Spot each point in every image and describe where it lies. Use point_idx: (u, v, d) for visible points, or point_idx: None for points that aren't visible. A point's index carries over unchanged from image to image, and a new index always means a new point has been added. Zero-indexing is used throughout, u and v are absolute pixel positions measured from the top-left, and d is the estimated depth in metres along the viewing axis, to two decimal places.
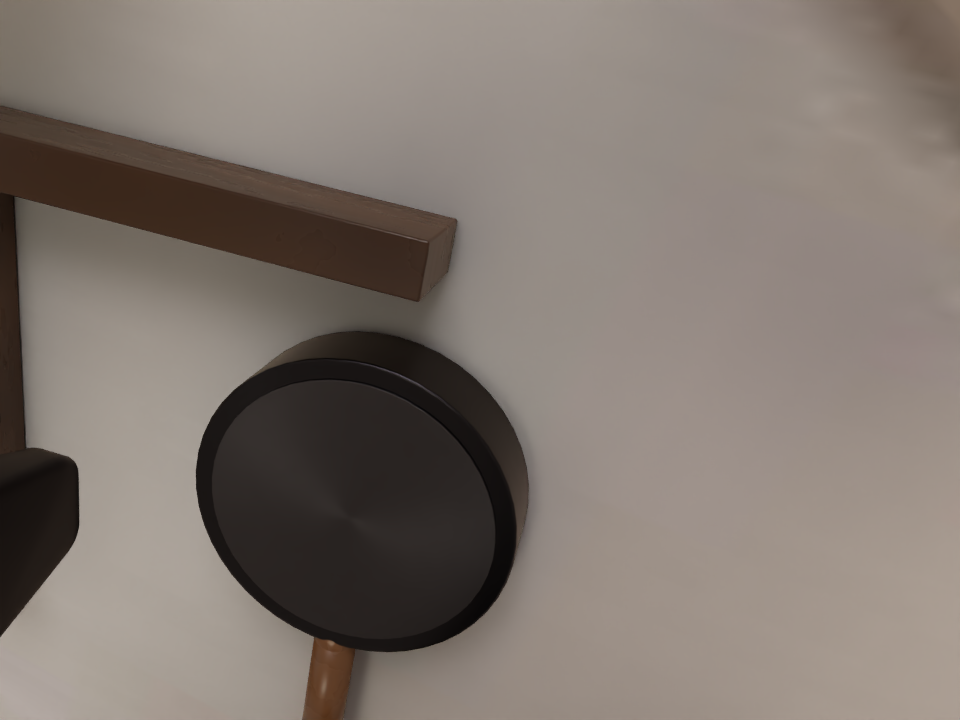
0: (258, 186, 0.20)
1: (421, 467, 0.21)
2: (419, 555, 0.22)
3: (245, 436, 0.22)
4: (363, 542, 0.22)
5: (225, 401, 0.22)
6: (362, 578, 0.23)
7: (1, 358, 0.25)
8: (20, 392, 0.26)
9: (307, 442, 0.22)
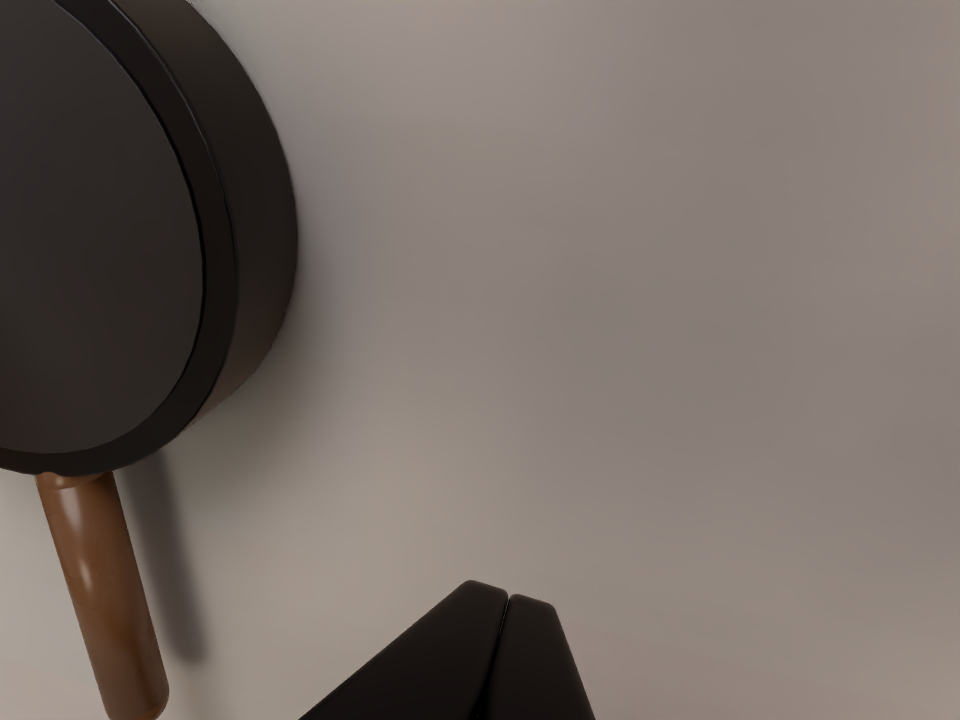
0: None
1: (23, 81, 0.12)
2: (96, 261, 0.13)
3: None
4: (10, 269, 0.13)
5: None
6: (42, 341, 0.14)
7: None
8: None
9: None
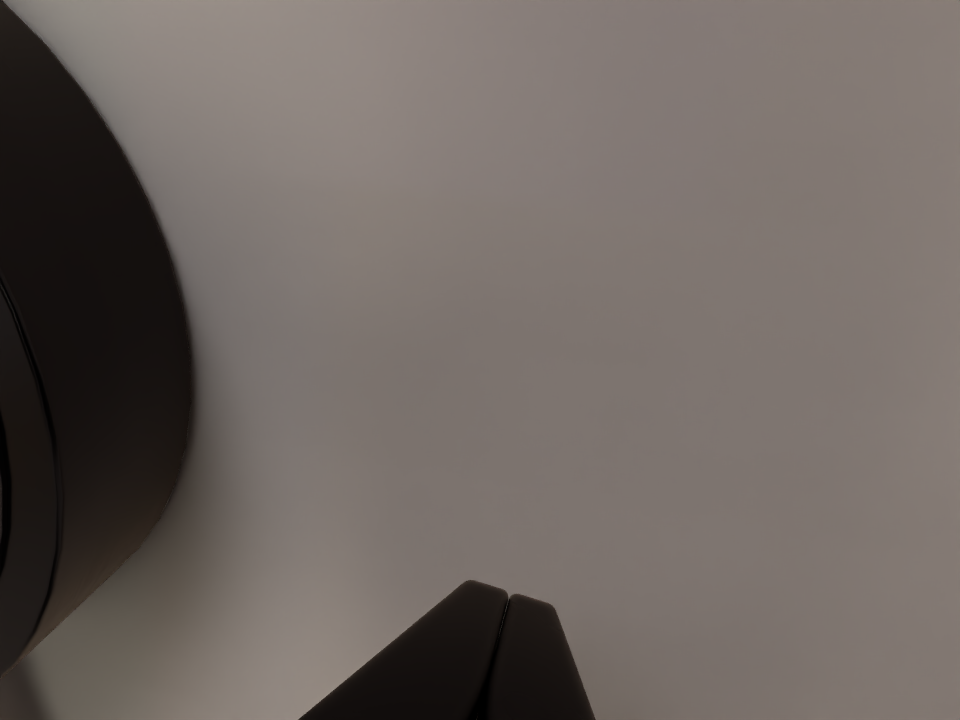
0: None
1: None
2: None
3: None
4: None
5: None
6: None
7: None
8: None
9: None
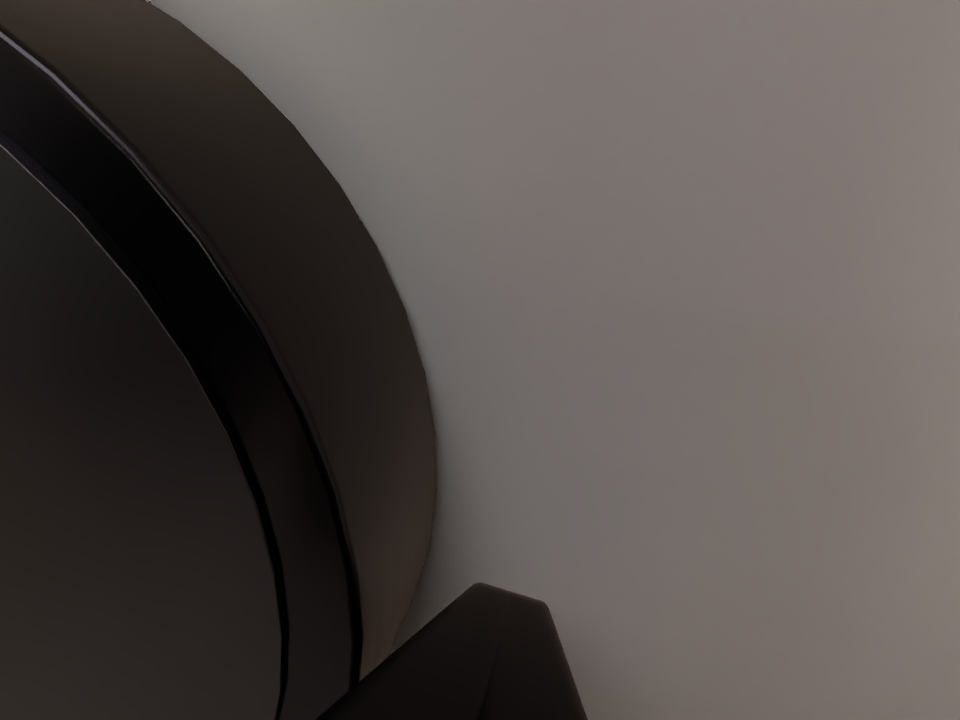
0: None
1: None
2: (55, 612, 0.06)
3: None
4: None
5: None
6: None
7: None
8: None
9: None
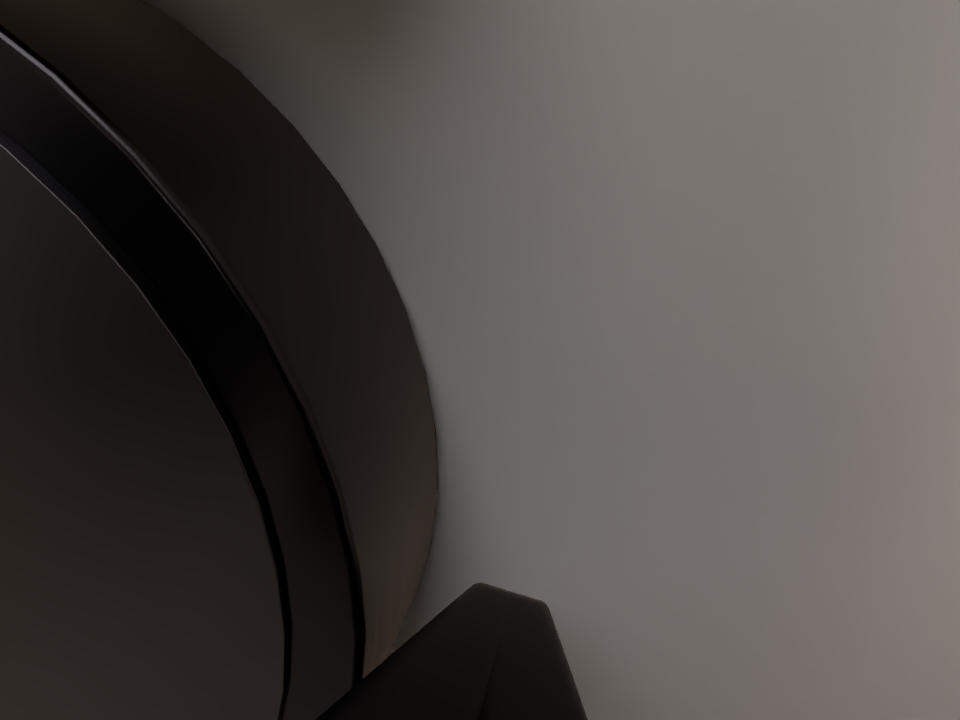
0: None
1: None
2: (59, 613, 0.06)
3: None
4: None
5: None
6: None
7: None
8: None
9: None
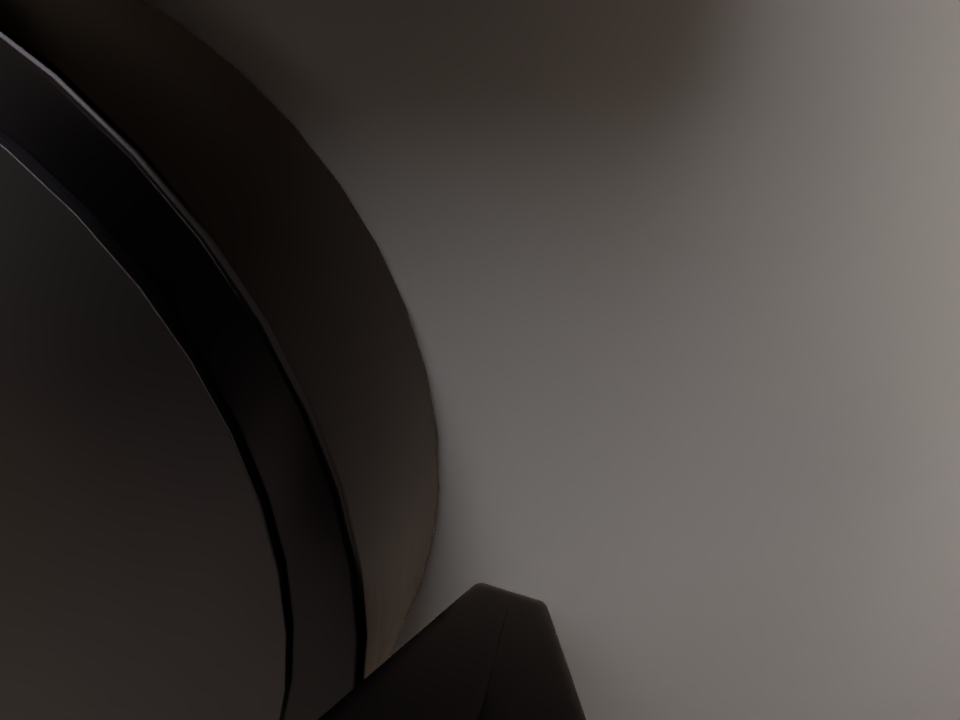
0: None
1: None
2: (60, 613, 0.06)
3: None
4: None
5: None
6: None
7: None
8: None
9: None
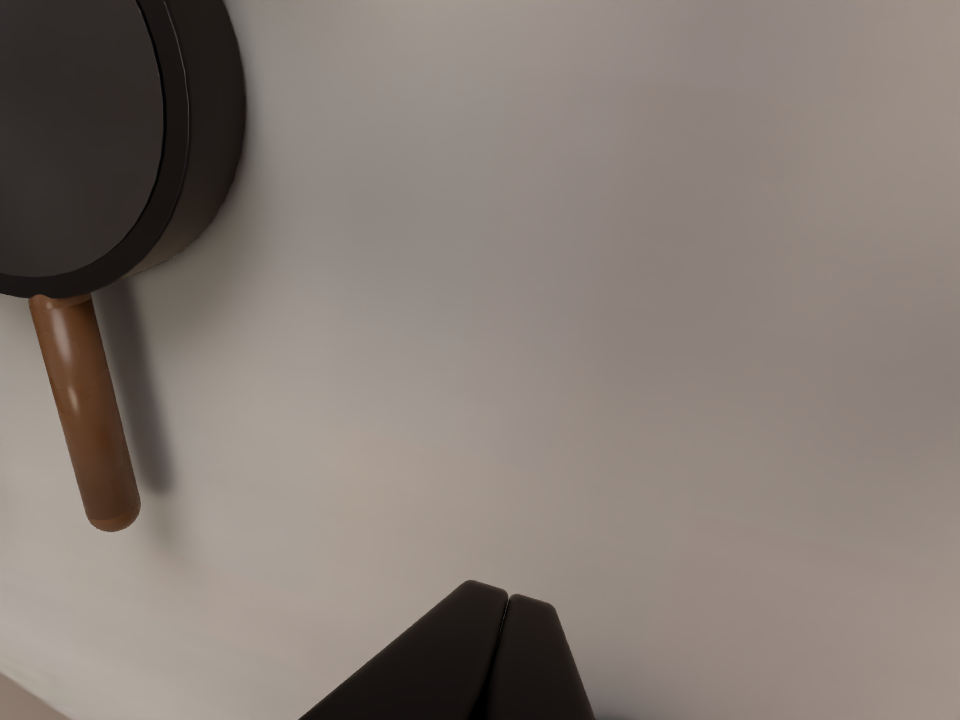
0: None
1: None
2: (79, 106, 0.16)
3: None
4: (10, 114, 0.17)
5: None
6: (35, 177, 0.17)
7: None
8: None
9: None
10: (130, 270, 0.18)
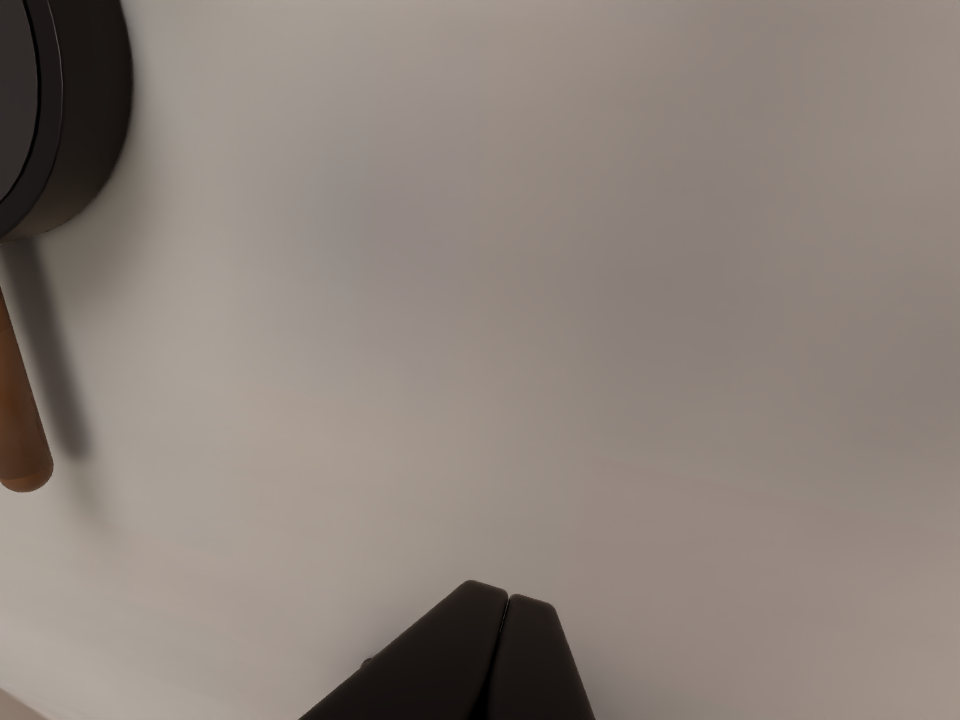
0: None
1: None
2: None
3: None
4: None
5: None
6: None
7: None
8: None
9: None
10: (19, 224, 0.18)
